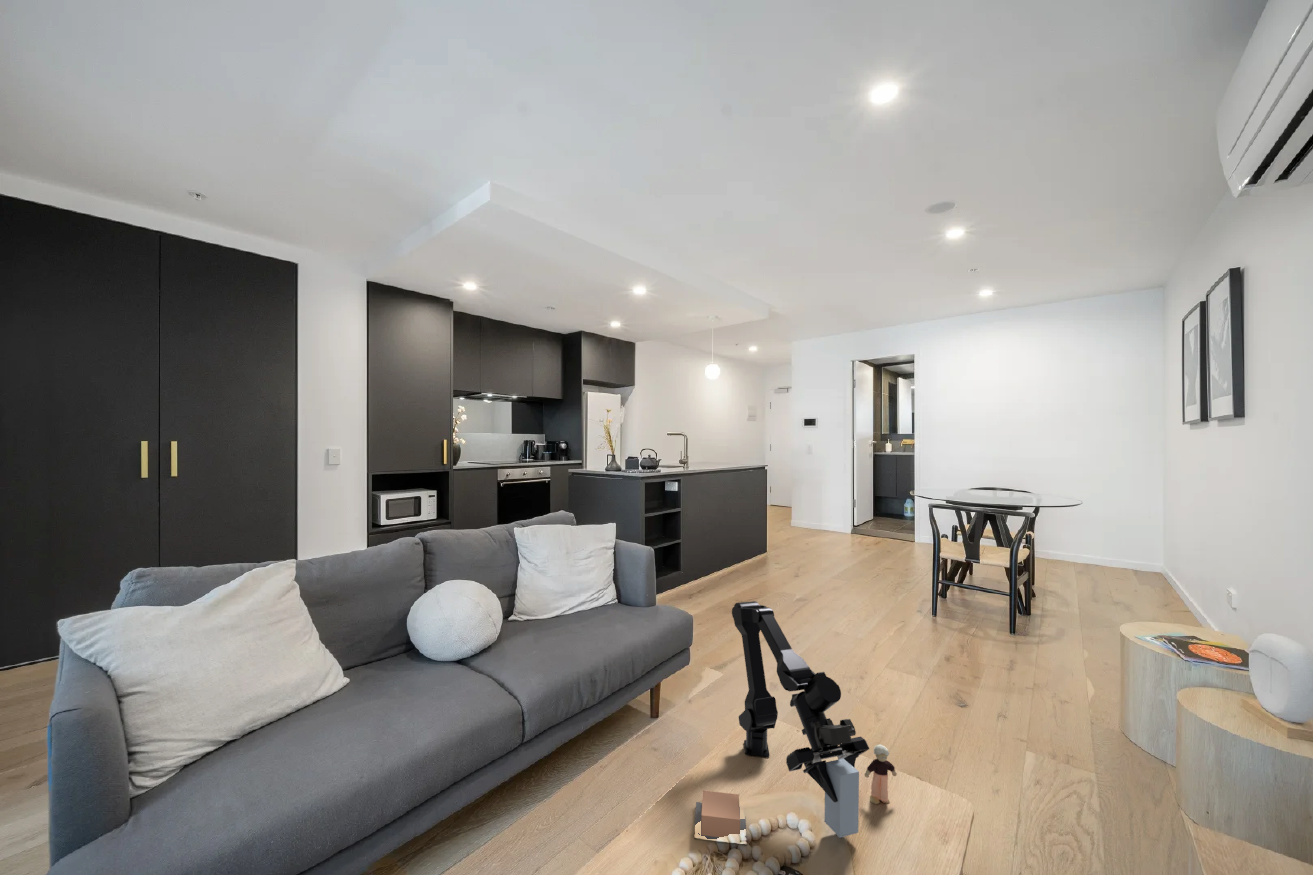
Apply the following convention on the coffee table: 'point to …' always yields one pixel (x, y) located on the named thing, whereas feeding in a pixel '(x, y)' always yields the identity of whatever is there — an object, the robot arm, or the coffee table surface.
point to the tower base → (719, 815)
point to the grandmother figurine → (880, 775)
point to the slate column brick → (843, 798)
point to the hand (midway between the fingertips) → (846, 799)
